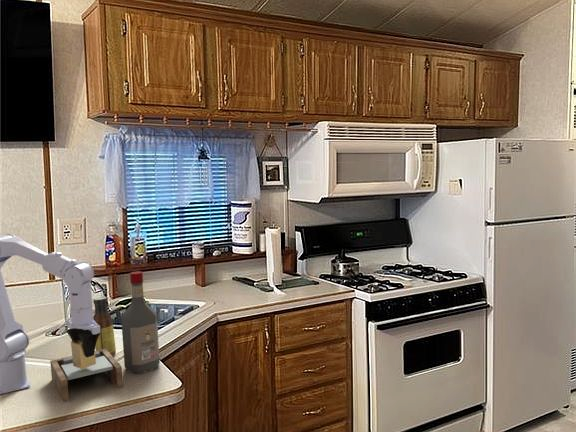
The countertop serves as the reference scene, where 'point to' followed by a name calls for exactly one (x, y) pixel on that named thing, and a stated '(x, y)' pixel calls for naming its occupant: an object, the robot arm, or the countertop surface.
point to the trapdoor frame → (61, 380)
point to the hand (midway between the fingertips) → (85, 354)
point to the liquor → (139, 331)
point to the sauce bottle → (104, 326)
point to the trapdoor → (75, 372)
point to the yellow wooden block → (81, 355)
